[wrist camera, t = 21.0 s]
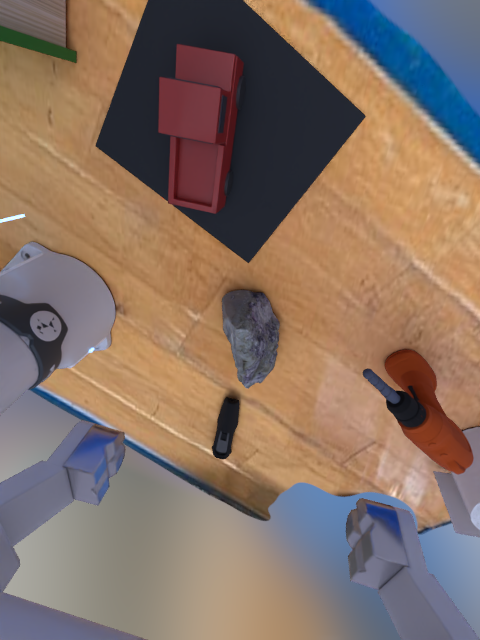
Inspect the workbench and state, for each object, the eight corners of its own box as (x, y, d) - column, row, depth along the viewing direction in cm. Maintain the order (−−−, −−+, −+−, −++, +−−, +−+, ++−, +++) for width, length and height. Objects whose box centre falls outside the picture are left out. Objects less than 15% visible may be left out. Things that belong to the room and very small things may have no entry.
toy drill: (360, 288, 37) (400, 383, 25) (439, 374, 44) (501, 481, 32) (326, 311, 40) (348, 408, 27) (406, 389, 46) (452, 494, 34)
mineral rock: (265, 374, 49) (255, 425, 40) (202, 345, 48) (178, 391, 40) (305, 310, 42) (304, 355, 33) (232, 276, 41) (212, 313, 33)
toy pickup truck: (229, 205, 36) (211, 221, 29) (181, 194, 37) (152, 208, 30) (249, 63, 29) (231, 43, 23) (190, 52, 30) (154, 29, 23)
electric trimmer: (246, 393, 52) (242, 407, 49) (231, 451, 60) (227, 466, 57) (224, 387, 52) (219, 401, 49) (212, 446, 60) (208, 460, 57)
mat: (248, 262, 40) (248, 263, 39) (97, 145, 36) (95, 145, 36) (365, 116, 30) (365, 116, 30) (173, -64, 26) (171, -67, 26)
